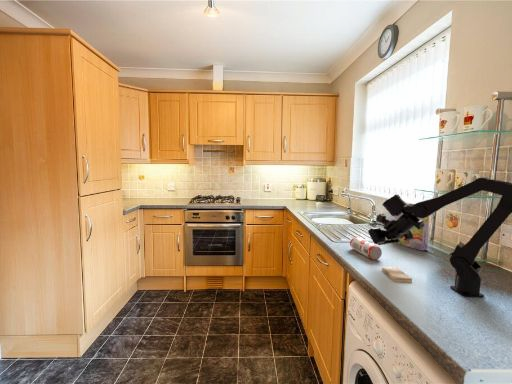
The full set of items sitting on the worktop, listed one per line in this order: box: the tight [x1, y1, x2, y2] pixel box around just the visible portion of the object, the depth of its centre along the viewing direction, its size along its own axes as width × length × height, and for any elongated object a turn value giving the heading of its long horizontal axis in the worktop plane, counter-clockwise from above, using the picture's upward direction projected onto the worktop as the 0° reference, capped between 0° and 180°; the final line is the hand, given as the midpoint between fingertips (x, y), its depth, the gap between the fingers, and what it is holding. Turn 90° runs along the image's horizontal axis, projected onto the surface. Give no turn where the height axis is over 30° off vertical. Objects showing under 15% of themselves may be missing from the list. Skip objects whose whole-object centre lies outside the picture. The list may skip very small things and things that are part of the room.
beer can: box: [349, 237, 383, 261], centre depth 121 cm, size 6×6×16 cm
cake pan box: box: [394, 213, 430, 251], centre depth 135 cm, size 19×5×18 cm, turn 23°
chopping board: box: [381, 266, 413, 283], centre depth 99 cm, size 10×6×1 cm, turn 179°
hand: (378, 244), depth 112 cm, fingers closed
